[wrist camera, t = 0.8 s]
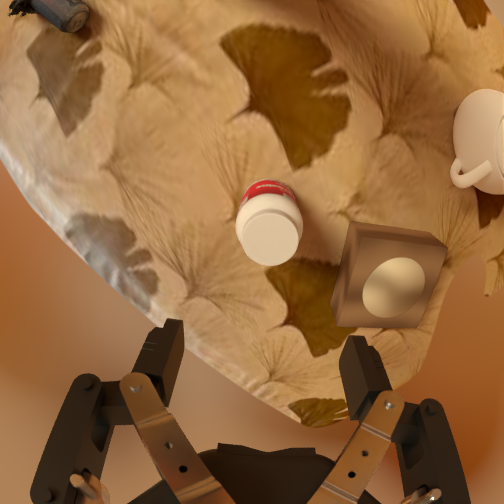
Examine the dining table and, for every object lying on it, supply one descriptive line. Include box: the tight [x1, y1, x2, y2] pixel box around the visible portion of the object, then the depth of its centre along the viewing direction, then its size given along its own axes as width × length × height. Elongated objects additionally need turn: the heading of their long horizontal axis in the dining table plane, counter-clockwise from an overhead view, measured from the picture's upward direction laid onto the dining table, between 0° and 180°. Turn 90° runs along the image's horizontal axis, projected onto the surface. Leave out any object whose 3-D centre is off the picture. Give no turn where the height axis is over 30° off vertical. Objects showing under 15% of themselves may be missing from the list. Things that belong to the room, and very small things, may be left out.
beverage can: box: [9, 0, 89, 33], centre depth 20 cm, size 9×8×12 cm
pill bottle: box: [236, 178, 303, 266], centre depth 29 cm, size 6×6×11 cm
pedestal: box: [330, 221, 448, 328], centre depth 35 cm, size 12×12×5 cm
